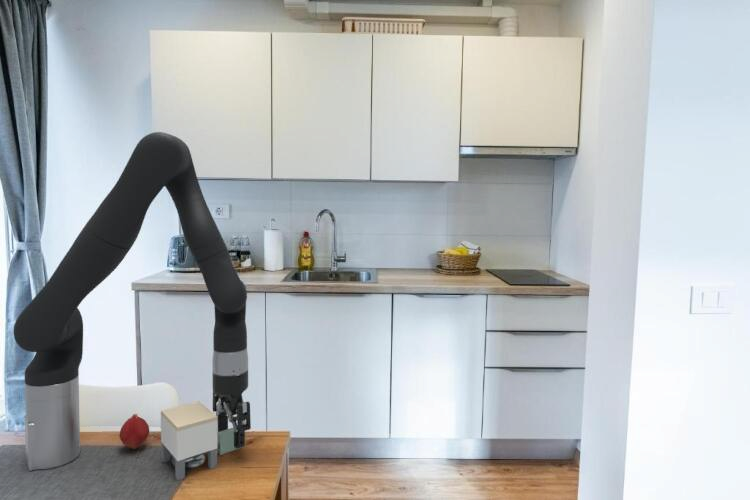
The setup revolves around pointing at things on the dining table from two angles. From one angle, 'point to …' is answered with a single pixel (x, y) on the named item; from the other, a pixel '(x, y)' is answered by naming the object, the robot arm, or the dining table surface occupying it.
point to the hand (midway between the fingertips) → (230, 439)
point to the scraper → (220, 443)
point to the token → (195, 461)
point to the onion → (134, 432)
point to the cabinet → (188, 435)
